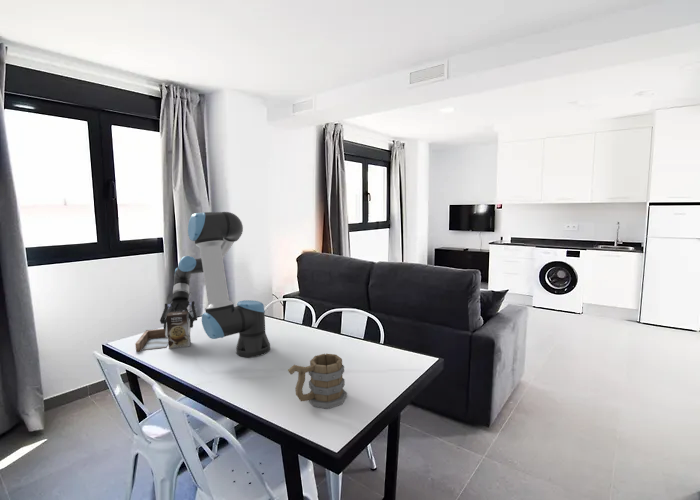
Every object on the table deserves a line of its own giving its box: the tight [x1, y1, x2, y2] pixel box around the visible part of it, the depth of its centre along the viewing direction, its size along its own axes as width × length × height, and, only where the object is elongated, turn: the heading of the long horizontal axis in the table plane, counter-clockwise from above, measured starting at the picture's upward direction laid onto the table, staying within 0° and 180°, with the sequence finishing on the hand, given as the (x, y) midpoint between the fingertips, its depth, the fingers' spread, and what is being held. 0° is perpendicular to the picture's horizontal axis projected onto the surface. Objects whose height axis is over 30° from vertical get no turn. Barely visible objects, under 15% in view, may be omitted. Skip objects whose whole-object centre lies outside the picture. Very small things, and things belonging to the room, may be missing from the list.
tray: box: [134, 328, 169, 353], centre depth 181 cm, size 19×12×4 cm
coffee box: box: [165, 310, 192, 350], centre depth 176 cm, size 9×6×16 cm
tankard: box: [287, 353, 348, 410], centre depth 124 cm, size 20×13×15 cm, turn 118°
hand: (177, 334), depth 173 cm, fingers closed on coffee box, 9 cm apart
